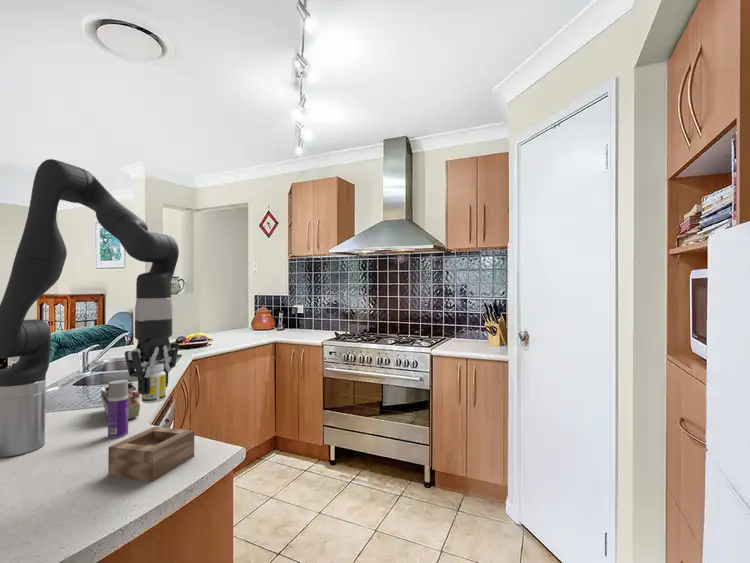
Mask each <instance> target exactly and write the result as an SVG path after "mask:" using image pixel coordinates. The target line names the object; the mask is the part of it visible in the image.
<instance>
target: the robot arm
mask: <svg viewBox="0 0 750 563" xmlns="http://www.w3.org/2000/svg"><path fill="white" fill-rule="evenodd" d="M32 183H33V184H32V189H31V195H30V201H29V206H28V211H27V212H28V213H27V218H26V222H25V225H24V228H23V233H22V236H21V238H20V241H19V244H18V247H17V250H16V253H15V257H14V259H13V263H12V268H11V272H10V275H9V278H8V282H7V286H6V288H5V291H4V294H3V296H2V299H1V302H0V359H10V358H16V357H19V358H18V361H16V363H14V364H13V365H12V366H10V367H8V368H6V369H5V370H3V371H0V458H6V457H14V456H19V455H23V454H27V453H28V454H29V453H31V452H33V451H36V450H39V449H41V448H43V447H44V446H45V444H46V443H45V442H46V401H47V400H46V392H47V390H46V384H47V380H46V376H47V372H48V369H49V366H50V357H51V346H52V334H51V333H52V332H51V329H50V326H49V325H48V323H47V322H46V321H44V320H42V319H38V318H37V319H36V318H35V319H33V318H32V319H25V318H26V316H27V313H28V312H29V310H30V309H31V307H32V306H33V305H34V304H35V302H36V301H38V299H39V298H41V297H42V296H43V295H44V294H45V293H47V291H49V290H50V289H51V288H52V287H53V286H54V285H55V284H56V283H57V282H58V280H59V279H60V277H61V275H62V272H63V268H64V265H65V263H66V260H67V256H68V254H67V253H68V251H67V248H66V247H67V245H66V244H65V241H64V239H63V237H62V234H61V231H60V229H59V226H58V222H57V212H58V207H59V203H60V200H61V201H65V202H69V203H73V204H80V205H83V206H85V207H87V208H89V209H91V210H92V211H93V212H95V217H96V221H97V222H98V223H99V225H100V226H101V227H102V228H103V229H104V230H105V231H106V232H107V233H109V234H110V235H111V236H113V237H114V238H115V239H117V240H118V241H119V243H120V244H121V247H123V249H124V250H125V252H126V253H127V254H128V255H129V256H130V257H131V258H133V259H134V260H137V261H139V262H143V263H151V267H150V270H149V271H148V272H143V273H140V274H139V275H138V276H137V277H136V281H135V282H136V283H135V286H136V290H135V292H136V293H135V294H136V295H135V298H136V299H135V306H134V338H135V339H136V340H137V345H136V347H135V348H134V349H132V350H126V351H125V352H124V358H125V362H126V366H127V370H128V371H127V372H128V376H129V378H130V377H131V378H132V377H133V378H137V385H138V386H137V391H138V392H139V395H141V396H142V395H146V394H149V393H150V377H149V375H150V371H151V368H152V367H153V366H154V363H163V364H164V370H163V371H164V372H165V373H166V388H167V387H168V385H169V372H170V370H171V369H172V368H175V367H176V364H177V358H178V351H179V347H180V343H179V342H171V341H170V339H169V338H170V337H171V338H172V336H173V303H172V302H173V301H172V279H173V276H174V274H175V269H176V266H177V263H178V259H179V255H180V254H179V253H180V252H179V249H180V248H179V245H178V243H177V241H176V239H175V238H174V237H172V236H170V235H168V234H163V233H157V232H153V231H149V228H148V225H147V223H146V222H145V221H144V220H143V218H142V219H141V218H140V217H139V216H138V215H137V214H136V213H134V212H133V211H131V210H130V209H128V208H127V207H125V205H123V204H121V203H120V202H119V201H118V200H117V199H116V198H115V197H114V196H113V195H112V194H111V193H110V192H109V191H108V190H107V188H105V186H104V185H103V184H102V183H101V182H100V181H99V180H98V179H97V177H95V175H93V174H92V173H91V172H90V171H88V170H86V169H84V168H82V167H80V166H76V165H72V164H71V163H67V162H64V161H61V160H57V159H53V158H49V159H45V160H43V161H42V162H41V164H39V166H38V167H37V169H36V172H35V175H34V178H33V182H32ZM144 367H145V371H144Z"/></svg>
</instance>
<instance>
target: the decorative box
mask: <svg viewBox="0 0 750 563" xmlns="http://www.w3.org/2000/svg"><path fill="white" fill-rule="evenodd" d="M137 388H138V383H136V382H131V381H128V420H131V419H133V418H137V417H139V415H140V409H141V403H140V401H139V399H138V398H140V394H139V392H138V389H137ZM100 389H101V390H100V397H101V400H102V403H103V404H102V405H103V408H104V412H105V415H106V416H107V417H108V391H109V384H107V385H104V386H102V387H100Z"/></svg>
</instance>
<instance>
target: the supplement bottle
mask: <svg viewBox="0 0 750 563" xmlns="http://www.w3.org/2000/svg"><path fill="white" fill-rule="evenodd" d="M163 370H164V364H163V363H154V366H153V367H152V368H151V371H150V375H149V377H150V393H149V394H146V395H142V394H141V402H142V403H143V404H155V403H160V402H163V401H164V400H166V397H167V396H166V394H167V392H166V389H167V387H166V373H165V372H164V371H163ZM144 371H145V367H144V369H143V372H144Z"/></svg>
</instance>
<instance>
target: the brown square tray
mask: <svg viewBox="0 0 750 563" xmlns="http://www.w3.org/2000/svg"><path fill="white" fill-rule="evenodd" d="M107 453H108V458H107V460H108V461H107V463H108V464H107V465H108V468H107V469H108V470H107V471H108V476H111V477H119V478H125V479H132V480H136V481H137V480H138V481H146V482H153V483H154V482H155V481H156V480H158V479H160V478H162V477H163V476H165V475H166V474H168V473H170V472H171V471H173V470H175V469H176V468H178V467H179V466H181V465H183V464H185V463H186V462H188V461H189V460H191V459H192V458H194V457H195V430H193V429H192V430H191V429H182V428H180V429H179V428H173V427H172V428H171V427H161V426H152V427H150V428H148V429H146V430H143V431H140V432H138V433H136V434H134V435H132V436H129V437H128V438H125V439H123V440H121V441H118V442H116V443H114V444H112V445H111V444H110V445H109V446H108V452H107Z"/></svg>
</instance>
